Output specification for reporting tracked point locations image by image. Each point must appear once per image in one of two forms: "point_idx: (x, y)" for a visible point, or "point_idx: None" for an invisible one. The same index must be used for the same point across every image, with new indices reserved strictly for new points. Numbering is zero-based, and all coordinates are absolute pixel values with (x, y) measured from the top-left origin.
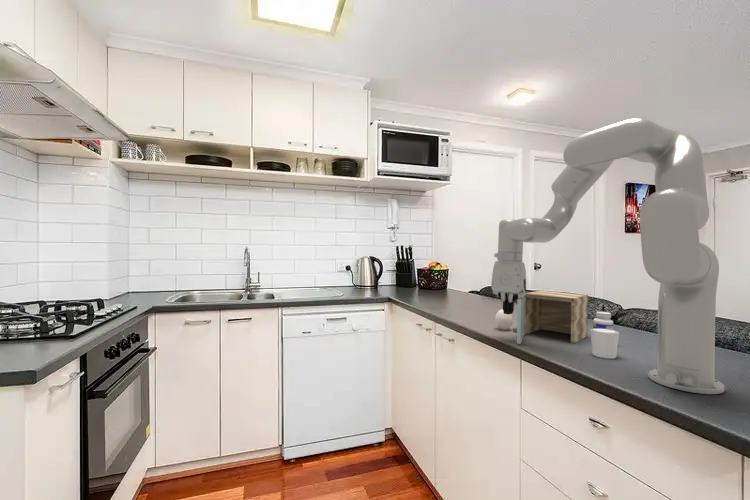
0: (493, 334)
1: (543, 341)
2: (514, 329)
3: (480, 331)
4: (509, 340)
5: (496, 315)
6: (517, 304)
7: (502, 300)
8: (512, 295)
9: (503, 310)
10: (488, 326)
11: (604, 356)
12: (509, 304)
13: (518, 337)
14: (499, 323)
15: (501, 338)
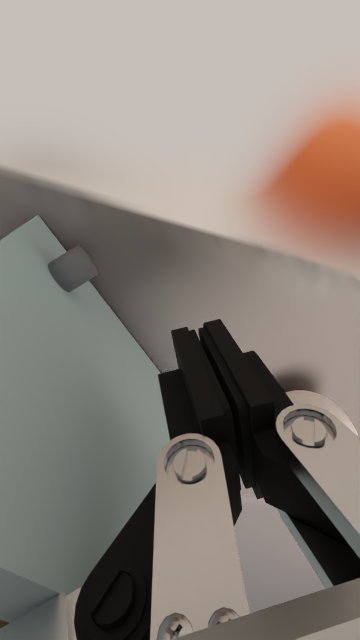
0: (266, 297)
1: None
2: (67, 256)
3: (339, 287)
4: (143, 270)
5: (350, 427)
6: None
7: (312, 416)
8: (163, 589)
9: (246, 353)
10: (352, 387)
11: None
12: (196, 418)
13: (20, 226)
14: (304, 396)
15: (194, 266)
